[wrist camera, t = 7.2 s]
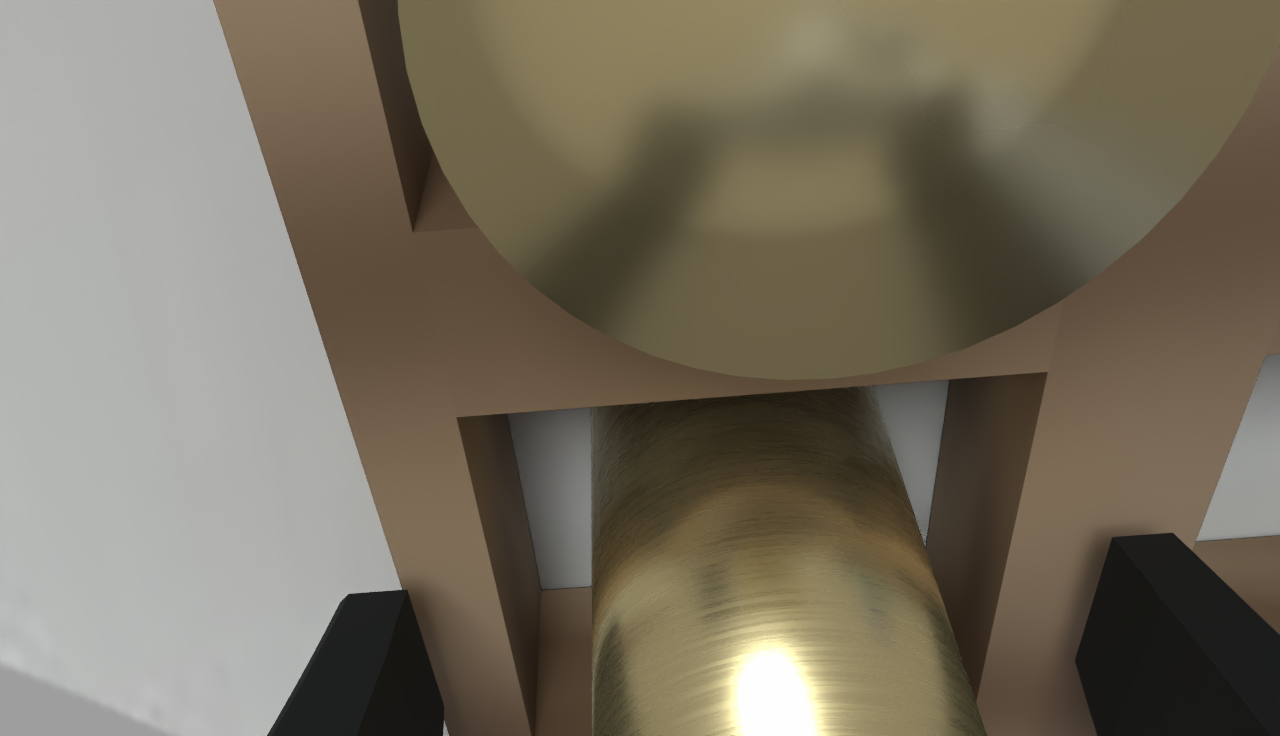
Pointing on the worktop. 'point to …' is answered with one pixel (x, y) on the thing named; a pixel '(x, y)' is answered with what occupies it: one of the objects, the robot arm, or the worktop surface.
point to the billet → (824, 159)
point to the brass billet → (764, 575)
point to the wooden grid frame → (747, 392)
